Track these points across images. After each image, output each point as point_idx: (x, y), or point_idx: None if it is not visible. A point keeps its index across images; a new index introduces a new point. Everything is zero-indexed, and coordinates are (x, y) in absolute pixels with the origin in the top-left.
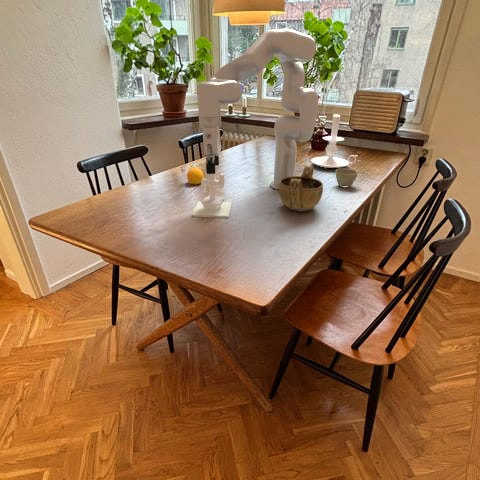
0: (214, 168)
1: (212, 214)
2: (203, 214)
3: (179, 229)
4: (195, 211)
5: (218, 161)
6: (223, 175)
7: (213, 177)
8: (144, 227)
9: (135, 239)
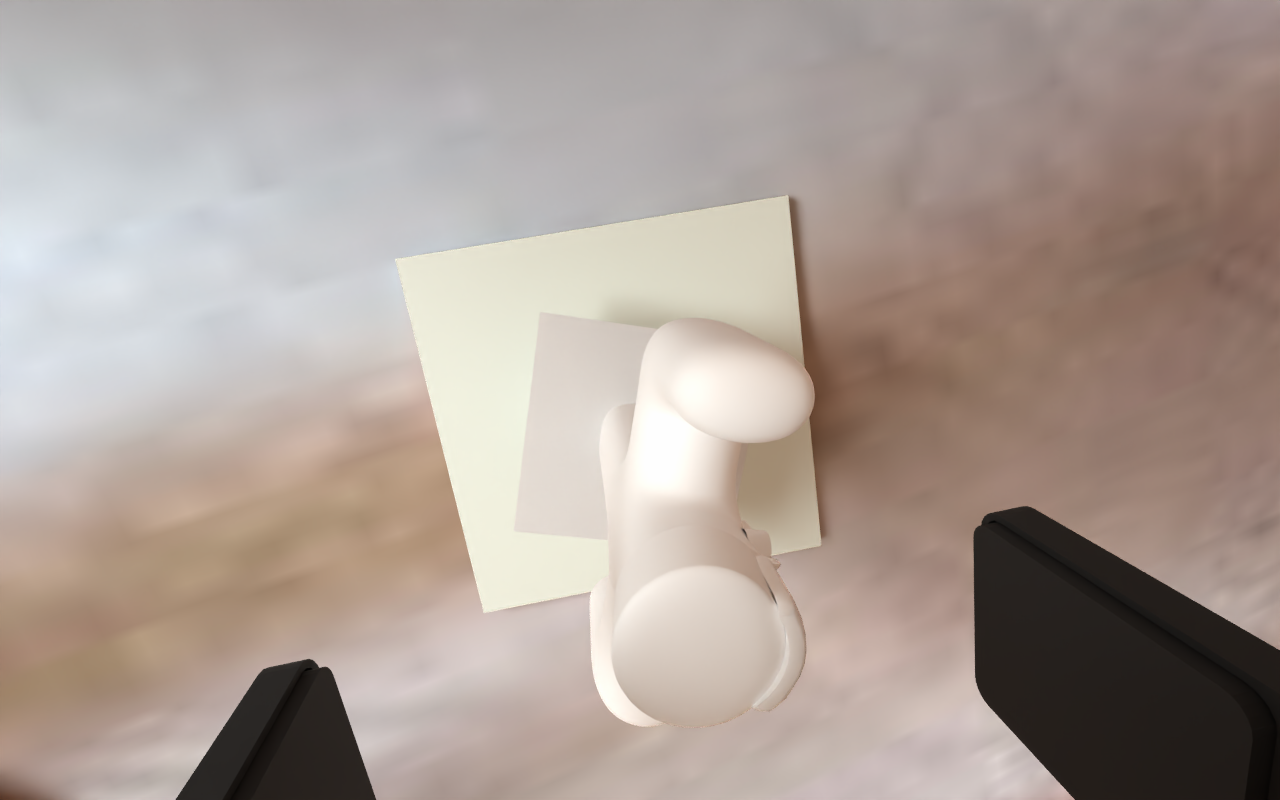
0: (1135, 584)
1: None
2: (797, 449)
3: None
4: None
5: (252, 750)
6: (757, 345)
7: (753, 543)
8: None
9: None
